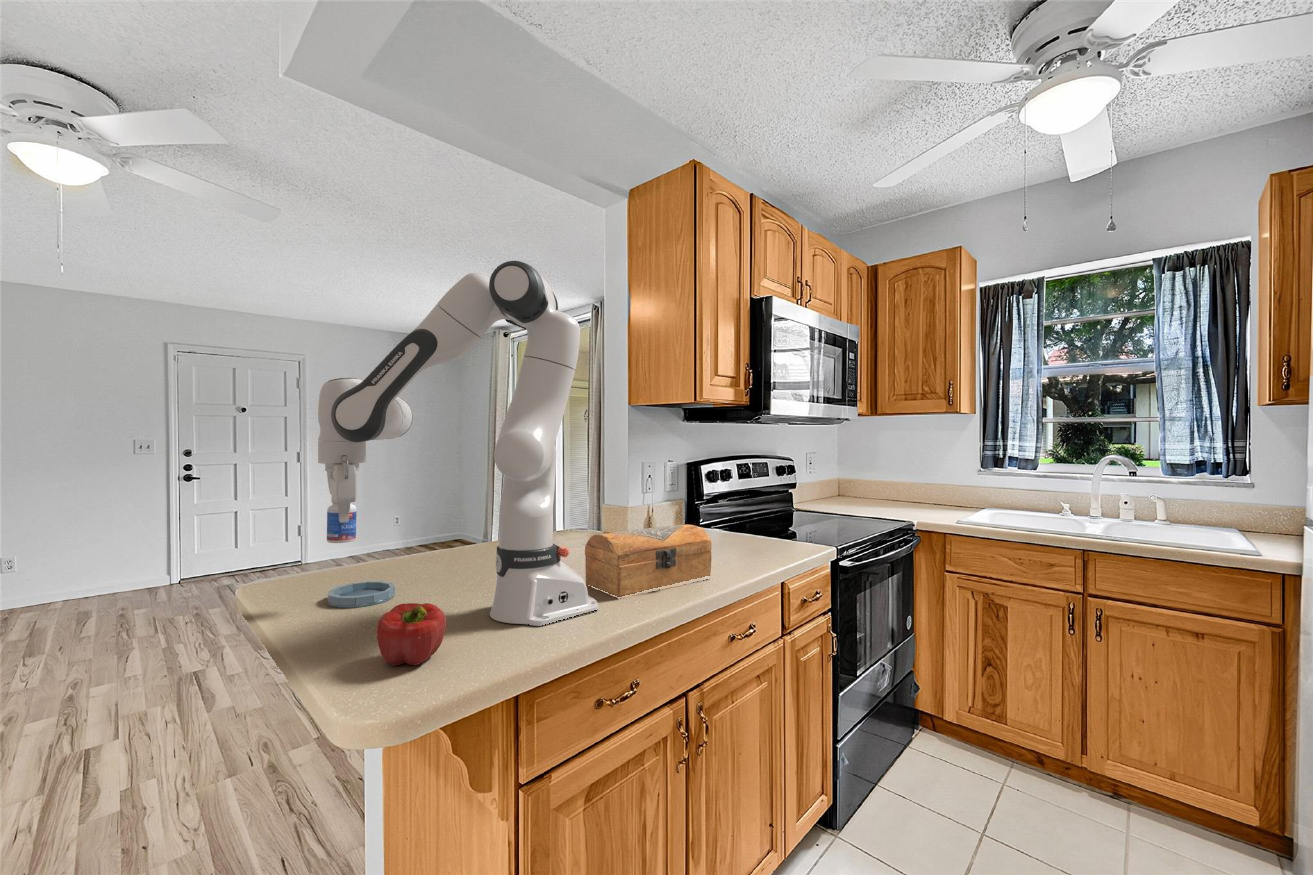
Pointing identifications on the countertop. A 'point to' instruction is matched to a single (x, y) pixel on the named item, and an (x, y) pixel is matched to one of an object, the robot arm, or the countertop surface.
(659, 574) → the wooden box
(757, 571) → the countertop surface
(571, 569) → the robot arm
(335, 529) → the pill bottle
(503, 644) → the countertop surface
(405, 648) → the vegetable
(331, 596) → the dish
